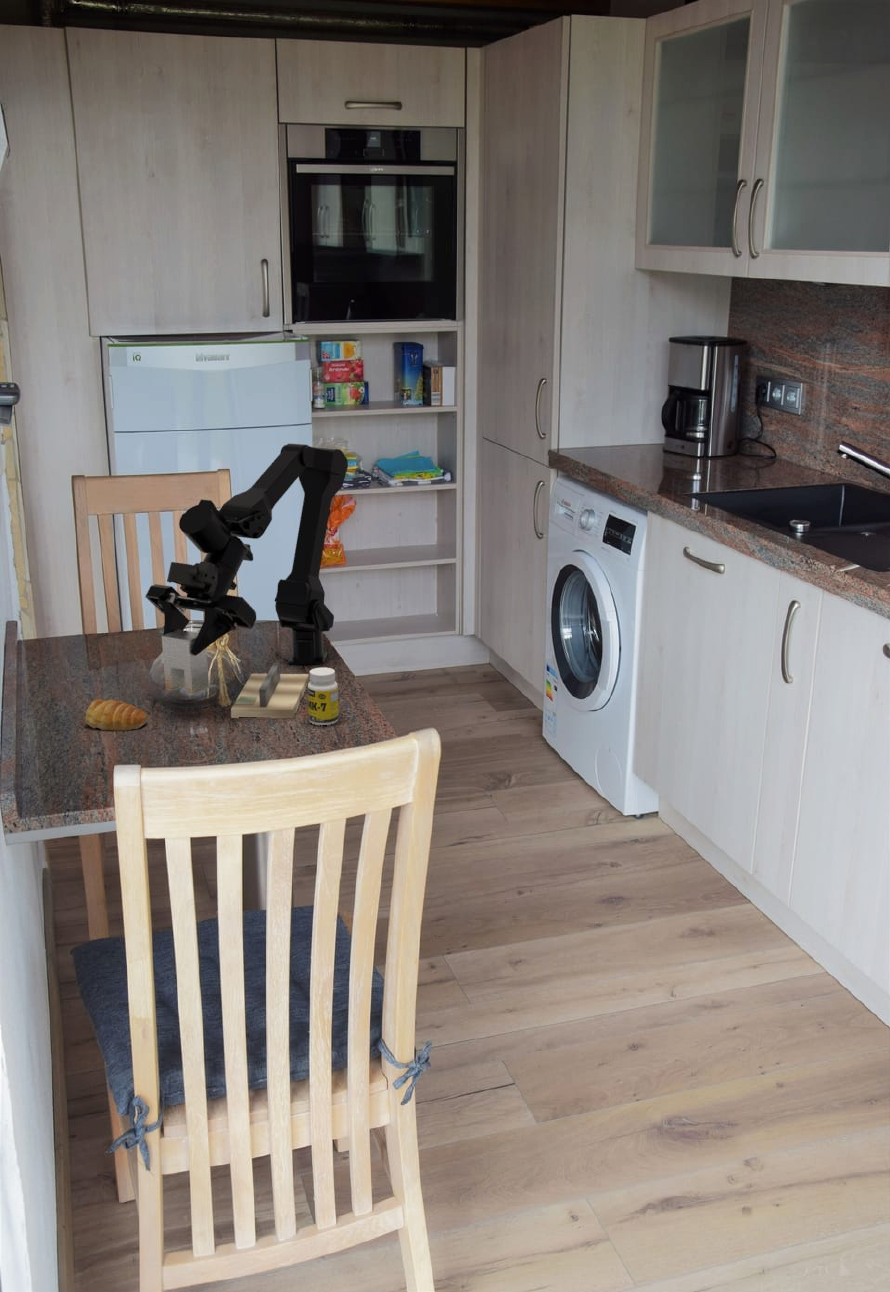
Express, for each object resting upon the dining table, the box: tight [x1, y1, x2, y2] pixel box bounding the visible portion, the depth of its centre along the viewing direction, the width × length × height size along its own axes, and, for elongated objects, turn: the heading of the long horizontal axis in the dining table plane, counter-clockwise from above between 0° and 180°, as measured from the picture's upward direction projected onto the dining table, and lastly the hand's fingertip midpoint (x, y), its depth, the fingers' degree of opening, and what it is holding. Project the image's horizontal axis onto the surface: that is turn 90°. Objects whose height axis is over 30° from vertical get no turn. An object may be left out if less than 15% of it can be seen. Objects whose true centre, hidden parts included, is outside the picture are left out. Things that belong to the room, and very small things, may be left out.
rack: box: [230, 662, 310, 719], centre depth 198 cm, size 18×10×4 cm, turn 178°
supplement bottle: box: [307, 667, 339, 727], centre depth 188 cm, size 5×5×8 cm
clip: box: [161, 629, 210, 696], centre depth 189 cm, size 4×6×9 cm
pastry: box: [84, 699, 148, 731], centre depth 187 cm, size 9×7×4 cm
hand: (178, 651), depth 187 cm, fingers closed on clip, 5 cm apart
